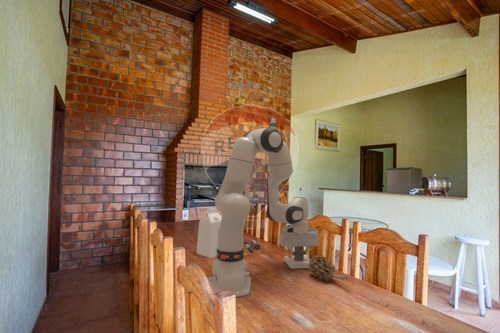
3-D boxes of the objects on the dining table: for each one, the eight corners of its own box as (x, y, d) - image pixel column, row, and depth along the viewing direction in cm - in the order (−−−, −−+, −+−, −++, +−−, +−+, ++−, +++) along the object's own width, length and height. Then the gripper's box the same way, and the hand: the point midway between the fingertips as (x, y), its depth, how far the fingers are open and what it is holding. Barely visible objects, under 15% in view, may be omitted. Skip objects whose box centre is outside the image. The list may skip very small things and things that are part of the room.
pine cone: (302, 275, 127) (303, 254, 127) (316, 271, 133) (316, 251, 133) (343, 293, 110) (344, 268, 110) (357, 288, 115) (357, 264, 115)
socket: (314, 269, 136) (314, 262, 136) (290, 269, 134) (290, 262, 134) (305, 261, 148) (305, 254, 148) (284, 261, 146) (284, 255, 146)
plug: (303, 263, 138) (303, 248, 138) (294, 263, 139) (294, 248, 139) (303, 260, 144) (303, 245, 144) (294, 259, 144) (294, 245, 144)
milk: (211, 249, 166) (213, 206, 166) (225, 253, 158) (226, 208, 159) (196, 253, 156) (197, 208, 157) (210, 258, 149) (211, 210, 149)
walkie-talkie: (241, 244, 178) (251, 254, 159) (241, 238, 178) (251, 246, 159) (254, 244, 181) (265, 253, 162) (254, 237, 181) (265, 245, 162)
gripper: (316, 226, 146) (315, 252, 146) (279, 226, 143) (278, 253, 143) (321, 229, 140) (320, 256, 139) (282, 229, 137) (281, 257, 137)
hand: (298, 254), depth 141 cm, fingers closed on plug, 5 cm apart
